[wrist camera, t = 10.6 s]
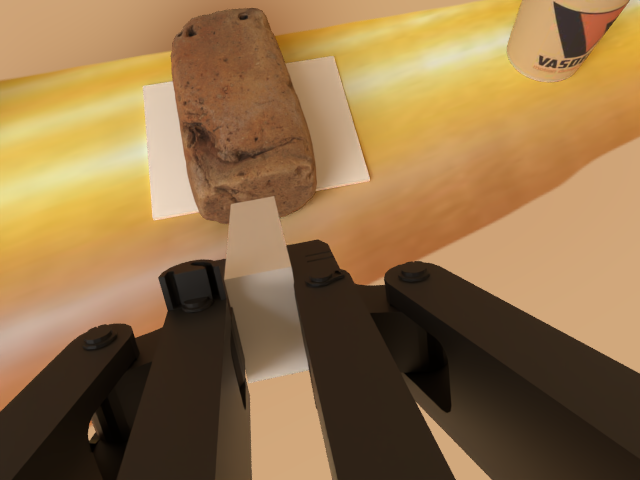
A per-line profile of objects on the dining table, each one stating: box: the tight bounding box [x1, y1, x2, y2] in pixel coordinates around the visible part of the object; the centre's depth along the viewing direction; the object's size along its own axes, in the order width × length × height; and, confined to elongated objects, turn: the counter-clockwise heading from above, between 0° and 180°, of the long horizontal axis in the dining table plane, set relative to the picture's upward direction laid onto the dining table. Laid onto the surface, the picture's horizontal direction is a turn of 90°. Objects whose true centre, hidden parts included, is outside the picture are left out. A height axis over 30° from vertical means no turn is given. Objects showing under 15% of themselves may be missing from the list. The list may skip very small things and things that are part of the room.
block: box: [171, 8, 317, 224], centre depth 45 cm, size 11×8×20 cm
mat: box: [143, 56, 370, 220], centre depth 49 cm, size 20×16×1 cm
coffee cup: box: [507, 0, 630, 82], centre depth 48 cm, size 9×9×12 cm
